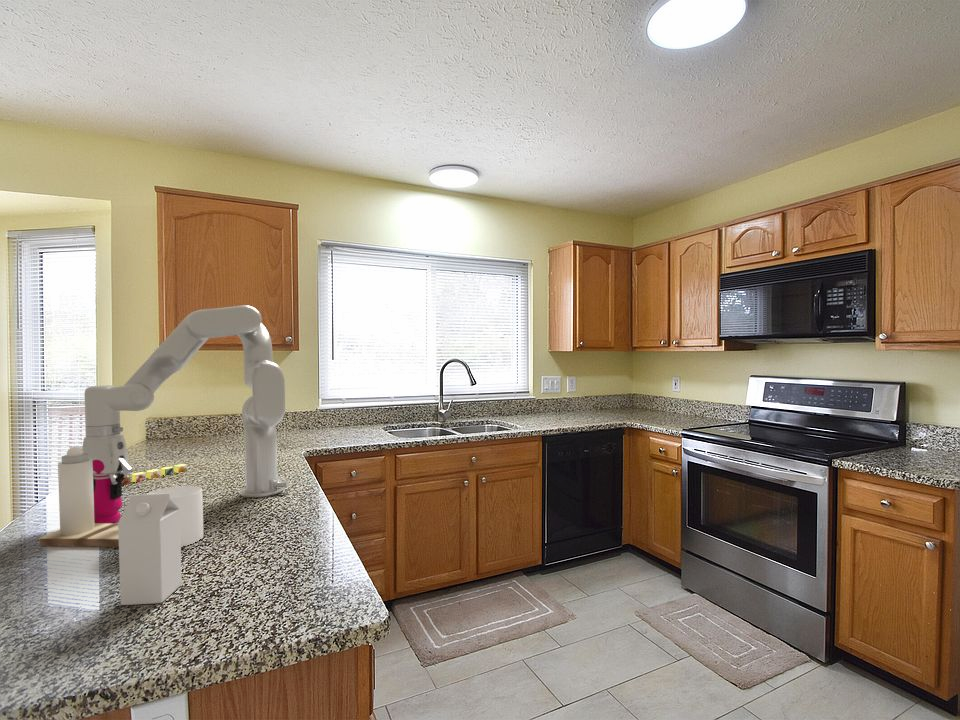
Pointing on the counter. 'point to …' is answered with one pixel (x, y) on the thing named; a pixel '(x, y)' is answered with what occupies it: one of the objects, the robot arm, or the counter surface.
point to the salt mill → (76, 492)
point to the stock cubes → (155, 473)
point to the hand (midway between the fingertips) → (105, 497)
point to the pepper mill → (104, 497)
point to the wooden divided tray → (85, 537)
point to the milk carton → (149, 549)
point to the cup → (187, 511)
